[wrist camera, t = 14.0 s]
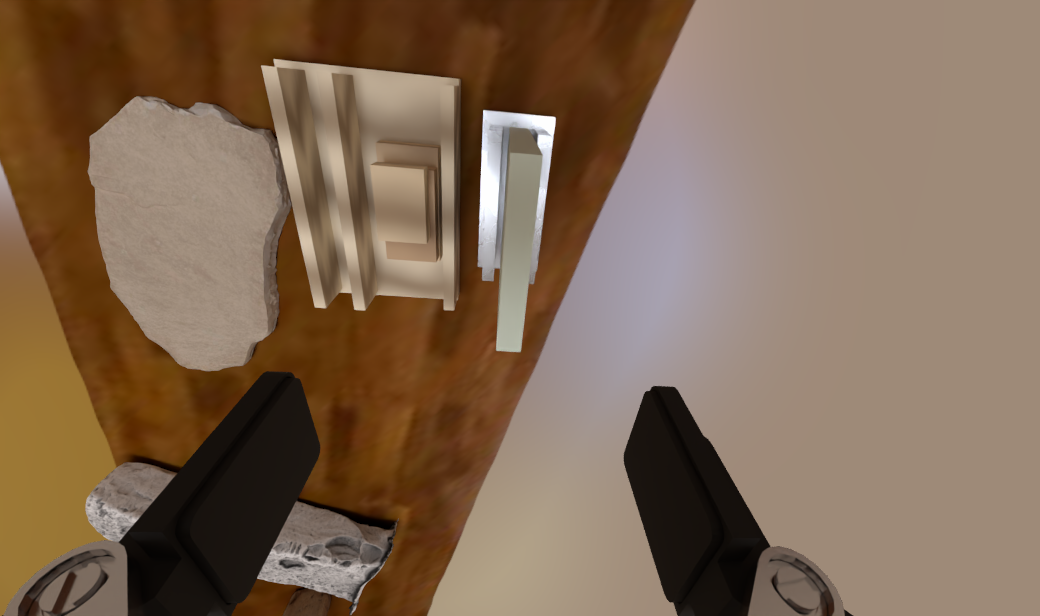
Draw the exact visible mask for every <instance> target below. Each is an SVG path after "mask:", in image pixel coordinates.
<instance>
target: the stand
mask: <svg viewBox="0 0 1040 616" xmlns="http://www.w3.org/2000/svg"><path fill="white" fill-rule="evenodd" d="M555 120H556V117H554V116H545V115H535V114H525V113H515V112H505V111H495V110H485V109H484V110H483V134H482V162H481V191H480V219H479V248H478V267H483V271H482V280H484V281H494V268H500V258H501V243H502V229H503V214H504V199H505V185H506V170H507V156H508V141H509V127H518V128H528V129H529V130H530V132H531V134H532V136H533V138H534V140H535V141H536V143H537V145H538V147H539V149H540V151H541V153H542V154H543V161H542V170H541V178H540V187H539V196H538V205H537V213H536V222H535V231H534V240H533V248H532V257H531V266H530V275H529V283H528V284H534V280H535V272H536V271H537V265H538V257H539V249H540V241H541V233H542V225H543V217H544V209H545V201H546V193H547V185H548V177H549V169H550V161H551V153H552V144H553V136H554V128H555Z"/></svg>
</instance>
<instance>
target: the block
mask: <svg viewBox="0 0 1040 616" xmlns="http://www.w3.org/2000/svg"><path fill="white" fill-rule="evenodd" d="M330 602H331V597H330V594H328V593H324V592H319V591H316V590H313V589H308V588H306V589H302V590H298V591H296V592H295V593H294V594H293V595H292V598H291V600H290V602H289V604H288V606H287V608H286V610H285V612H284V614H283V616H327V612H328V610H329V607H330Z"/></svg>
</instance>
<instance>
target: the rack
mask: <svg viewBox="0 0 1040 616" xmlns="http://www.w3.org/2000/svg"><path fill="white" fill-rule="evenodd" d="M273 60H274V65H275V67H270V66H261V67H262V72H263V76H264V81H265V85H266V90H267V94H268V99H269V103H270V108H271V112H272V117H273V121H274V126H275V130H276V135H277V139H278V144H279V148H280V153H281V157H282V162H283V166H284V171H285V175H286V179H287V184H288V188H289V193H290V197H291V202H292V206H293V211H294V215H295V220H296V224H297V229H298V233H299V238H300V242H301V247H302V251H303V256H304V260H305V265H306V269H307V274H308V278H309V283H310V287H311V292H312V296H313V301H314V305H315V307H317V308H326V307H327V306H328V305H329V304H330V303H331V302H332V300H333V299H334V298H335V297H336V296H337V294H338V293H339V292H342V293H352V297H353V304H354V310H366V309H367V307H368V306H369V304H370V303H371V301H372V299H373V298H374V296H375V295H388V296H404V297H419V298H435V299H444V310H454V309H455V305H456V301H457V300H458V297H459V271H460V140H461V79H455V78H446V77H437V76H427V75H418V74H408V73H399V72H390V71H380V70H371V69H361V68H352V67H343V66H333V65H324V64H314V63H305V62H295V61H286V60H277V59H273ZM380 140H384V141H395V142H405V143H416V144H427V145H437V146H441V188H442V245H443V256H442V258H441V261H437V262H422V261H408V260H394V259H387V254H386V244H385V241H378V233H377V224H376V214H375V205H374V196H373V187H372V178H371V169H370V165H371V164H373V163H375V162H377V154H376V144H375V142H377V141H380Z"/></svg>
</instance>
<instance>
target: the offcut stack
mask: <svg viewBox="0 0 1040 616" xmlns="http://www.w3.org/2000/svg"><path fill="white" fill-rule="evenodd" d="M375 144H376V154H377V162H375V163H373V164H371V165H370V169H371V178H372V187H373V196H374V205H375V214H376V224H377V233H378V241H385V244H386V254H387V259H394V260H408V261H422V262H437V261H441V258H442V256H443V245H442V188H441V146H437V145H427V144H416V143H405V142H395V141H384V140H380V141H377V142H375Z"/></svg>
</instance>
